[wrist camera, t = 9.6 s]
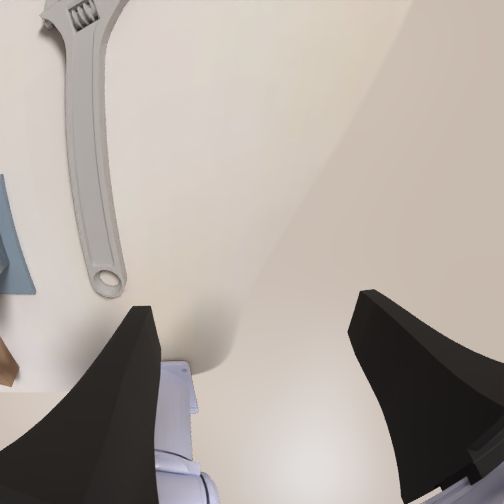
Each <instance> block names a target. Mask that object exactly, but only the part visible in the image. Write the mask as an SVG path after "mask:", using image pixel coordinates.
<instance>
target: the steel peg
mask: <svg viewBox="0 0 504 504" xmlns="http://www.w3.org/2000/svg"><path fill="white" fill-rule="evenodd" d="M9 263H10V262H9V259H8V256H7V253H6V250H5V247H4V243H3V240H2V237H1V234H0V274H1V273H2V271H3V270H4V269H5V268H6V267H7V265H8V264H9Z"/></svg>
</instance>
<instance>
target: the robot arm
mask: <svg viewBox="0 0 504 504" xmlns="http://www.w3.org/2000/svg"><path fill="white" fill-rule="evenodd" d="M348 335H349V338H350V341H351V344H352V347H353V350H354V352H355V355H356V357H357V359H358V361H359V363H360V365H361V367H362V369H363V371H364V373H365V375H366V377H367V379H368V381H369V383H370V385H371V387H372V389H373V391H374V393H375V395H376V397H377V399H378V402H379V404H380V406H381V409H382V411H383V414H384V417H385V420H386V423H387V426H388V429H389V433H390V436H391V440H392V444H393V447H394V452H395V457H396V461H397V467H398V472H399V480H400V489H401V497H402V500H403V502H404V504H408V503H410V502H412V501H414V500H416V499H418V498H420V497H422V496H424V495H425V494H427V493H429V492H431V491H433V490H434V489H436V488H438V487H441V489H442V492H440V493H439V494H437V495H435V496H434V497H432V498H430V499H428V500H427V501H425V502H423V503H421V504H504V363H501V362H498V361H495V360H493V359H490V358H488V357H485V356H483V355H481V354H478V353H476V352H474V351H472V350H470V349H468V348H466V347H464V346H462V345H460V344H458V343H456V342H454V341H453V340H451V339H449V338H447V337H446V336H444V335H442V334H441V333H439V332H437V331H436V330H434V329H433V328H431V327H430V326H428V325H427V324H425V323H424V322H422V321H420V320H419V319H418V318H416V317H415V316H413V315H412V314H411V313H409V312H408V311H406V310H405V309H403V308H402V307H401V306H399V305H397V304H396V303H395V302H393V301H392V300H390V299H389V298H387V297H386V296H384V295H383V294H381V293H380V292H378V291H376V290H374V289H373V290H365V291H360V293H359V296H358V300H357V303H356V306H355V310H354V313H353V316H352V319H351V322H350V326H349V329H348ZM198 411H199V410H198V405H197V401H196V396H195V392H194V387H193V382H192V377H191V372H190V366H189V363H188V362H186V361H165V362H161V347H160V343H159V339H158V335H157V331H156V327H155V323H154V318H153V314H152V309H151V306H133V307H132V308H131V309H130V310H129V312H128V313H127V315H126V316H125V318H124V319H123V321H122V323H121V324H120V326H119V327H118V329H117V330H116V331H115V333H114V334H113V336H112V337H111V339H110V340H109V342H108V343H107V344H106V346H105V347H104V349H103V350H102V352H101V353H100V354H99V356H98V357H97V358H96V360H95V361H94V362H93V364H92V365H91V366H90V368H89V369H88V370H87V371H86V373H85V374H84V375H83V377H82V378H81V379H80V380H79V381H78V383H77V384H76V385H75V386H74V387H73V388H72V389H71V391H70V392H69V393H68V394H67V395H66V396H65V397H64V398H63V399H62V400H61V401H60V403H58V404H57V405H56V406H55V407H54V408H53V409H52V410H51V411H50V412H49V413H48V414H47V415H46V416H45V417H44V418H43V419H42V420H41V421H40V422H38V423H37V424H36V425H35V426H34V427H33V428H31V429H30V430H29V431H28V432H26V433H25V434H24V435H23V436H21V437H20V438H19V439H17V440H16V441H15V442H13V443H12V444H10V445H9V446H7V447H6V448H4V449H3V450H1V451H0V504H220V501H219V495H218V491H217V488H216V485H215V483H214V482H213V480H212V479H211V478H210V477H209V476H208V474H206V473H204V472H200V463H198V462H193V458H192V441H191V421H190V420H191V419H190V414H196V413H198Z"/></svg>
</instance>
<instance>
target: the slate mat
mask: <svg viewBox="0 0 504 504" xmlns="http://www.w3.org/2000/svg"><path fill="white" fill-rule="evenodd" d="M0 234H1V237H2V240H3V243H4V247H5V250H6V253H7V256H8V259H9V262H10V263H9V264H8V265H7V267H6V268H5V269H4V270H3V271H2V273H1V274H0V293H1V294H35V292H36V290H35V287H34V285H33V282H32V279H31V277H30V274H29V271H28V268H27V266H26V263H25V260H24V257H23V254H22V251H21V247H20V244H19V241H18V237H17V234H16V230H15V227H14V223H13V219H12V215H11V211H10V207H9V203H8V198H7V193H6V188H5V183H4V177H3V174H1V175H0Z"/></svg>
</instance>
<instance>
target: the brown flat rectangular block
mask: <svg viewBox="0 0 504 504" xmlns="http://www.w3.org/2000/svg"><path fill="white" fill-rule="evenodd" d="M18 370H19V366H18V365H17V363H16V362H15V360H14V359H13V357H12V356H11V354H10V352H9V351H8V349H7V348H6V346H5V344H4V343H3V341H2V339H1V338H0V384H1V385H5V386H9V387H12V385H13V382H14V379H15V377H16V374H17V372H18Z"/></svg>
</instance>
